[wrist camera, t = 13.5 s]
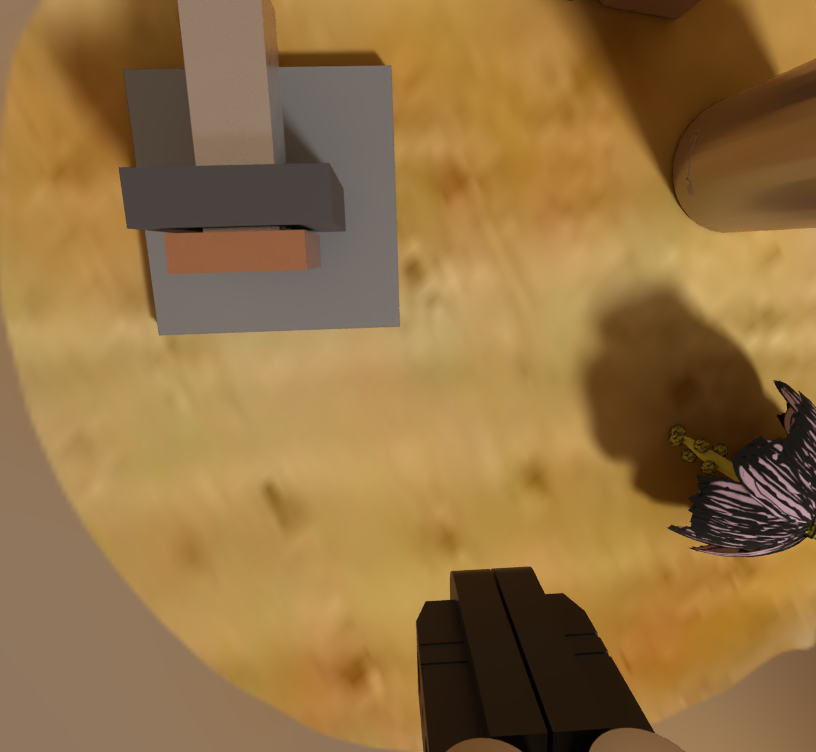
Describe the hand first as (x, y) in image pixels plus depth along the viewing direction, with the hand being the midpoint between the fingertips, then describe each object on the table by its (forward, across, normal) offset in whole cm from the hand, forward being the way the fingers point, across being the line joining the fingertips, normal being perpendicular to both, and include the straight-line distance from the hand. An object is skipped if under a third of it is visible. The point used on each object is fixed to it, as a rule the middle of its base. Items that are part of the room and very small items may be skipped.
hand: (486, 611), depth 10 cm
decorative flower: (+31, -25, +10) cm, 41 cm away
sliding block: (+26, +9, -13) cm, 31 cm away
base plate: (+31, +9, -10) cm, 34 cm away
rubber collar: (+30, +9, -10) cm, 32 cm away
